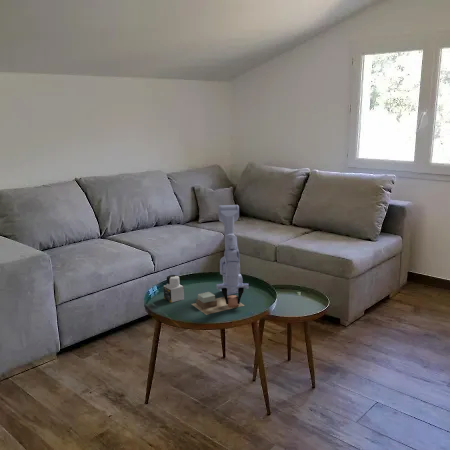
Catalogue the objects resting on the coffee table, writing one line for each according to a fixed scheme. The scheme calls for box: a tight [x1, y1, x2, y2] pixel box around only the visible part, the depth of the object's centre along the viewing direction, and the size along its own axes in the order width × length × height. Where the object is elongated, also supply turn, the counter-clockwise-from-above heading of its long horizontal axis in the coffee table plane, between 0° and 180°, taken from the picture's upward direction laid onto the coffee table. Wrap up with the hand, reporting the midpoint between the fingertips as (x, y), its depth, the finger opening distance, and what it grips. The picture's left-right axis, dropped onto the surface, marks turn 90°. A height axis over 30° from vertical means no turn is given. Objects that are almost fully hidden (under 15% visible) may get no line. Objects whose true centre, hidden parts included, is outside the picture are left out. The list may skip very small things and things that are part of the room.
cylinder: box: [227, 294, 238, 308], centre depth 224 cm, size 5×5×4 cm
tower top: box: [197, 291, 216, 303], centre depth 225 cm, size 6×6×2 cm
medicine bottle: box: [163, 274, 185, 303], centre depth 234 cm, size 7×7×12 cm
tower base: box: [195, 298, 217, 309], centre depth 226 cm, size 7×7×2 cm
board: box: [191, 295, 245, 316], centre depth 226 cm, size 20×15×1 cm
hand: (232, 303), depth 224 cm, fingers closed on cylinder, 5 cm apart
